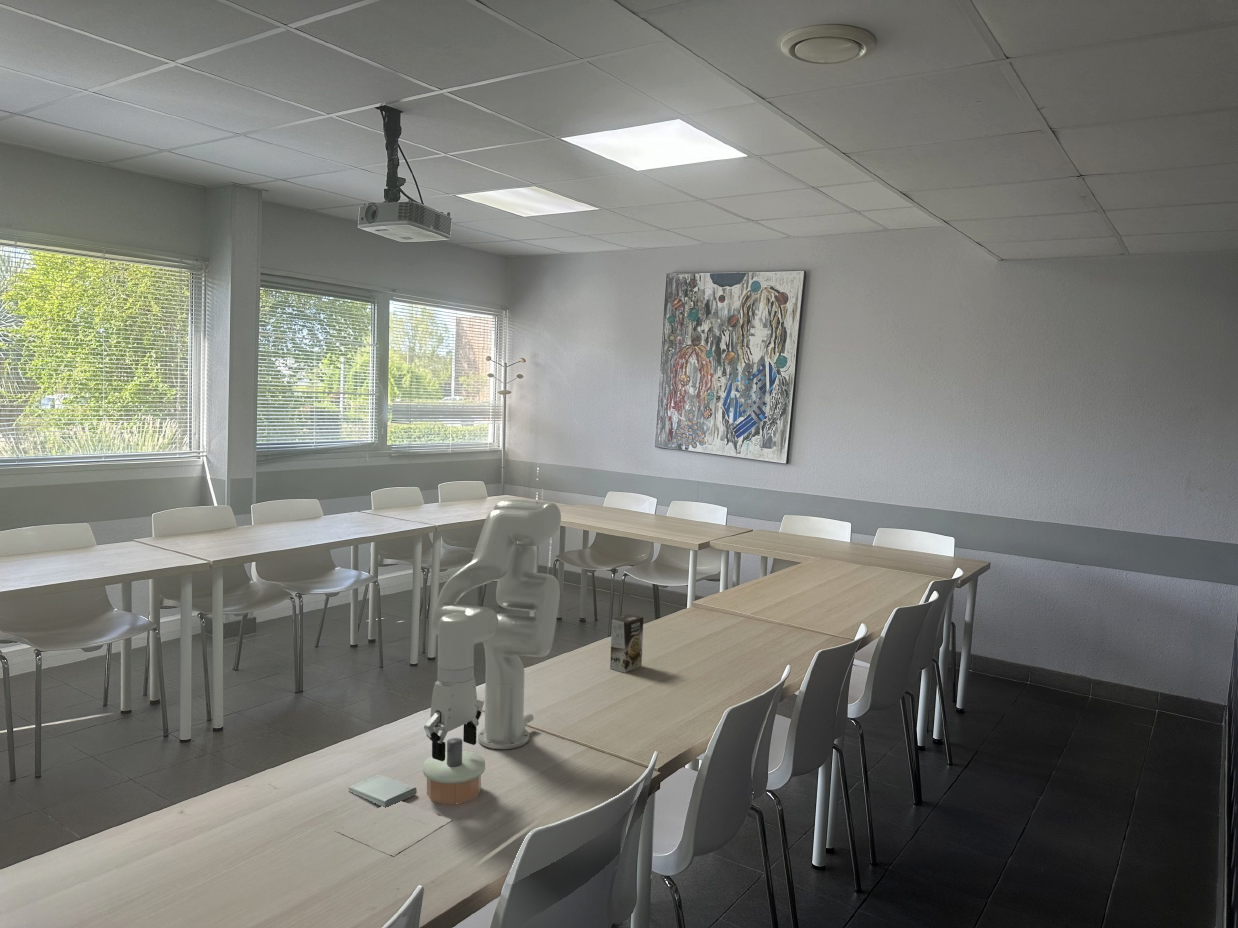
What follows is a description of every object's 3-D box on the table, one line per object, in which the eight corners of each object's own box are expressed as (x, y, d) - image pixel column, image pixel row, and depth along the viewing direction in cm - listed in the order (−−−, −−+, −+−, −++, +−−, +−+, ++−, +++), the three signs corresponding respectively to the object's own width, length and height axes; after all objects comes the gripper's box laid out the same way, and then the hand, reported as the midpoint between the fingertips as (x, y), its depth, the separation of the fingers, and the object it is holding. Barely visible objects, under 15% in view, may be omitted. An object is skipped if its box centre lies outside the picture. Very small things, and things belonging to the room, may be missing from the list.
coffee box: (625, 673, 258) (627, 622, 257) (609, 668, 262) (610, 618, 260) (642, 666, 265) (644, 616, 264) (626, 661, 269) (628, 613, 268)
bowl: (452, 777, 185) (452, 753, 185) (490, 790, 180) (490, 766, 179) (416, 796, 176) (416, 771, 175) (455, 811, 170) (456, 785, 170)
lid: (452, 750, 186) (452, 723, 186) (497, 765, 180) (498, 737, 179) (410, 772, 175) (410, 744, 175) (456, 789, 169) (457, 759, 168)
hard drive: (416, 786, 176) (380, 772, 183) (384, 800, 169) (348, 785, 177) (416, 794, 176) (380, 780, 183) (385, 808, 169) (348, 793, 177)
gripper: (469, 659, 185) (468, 733, 186) (413, 680, 170) (412, 761, 172) (495, 665, 181) (494, 741, 183) (440, 688, 166) (439, 770, 168)
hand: (454, 750), depth 177 cm, fingers open, 9 cm apart
